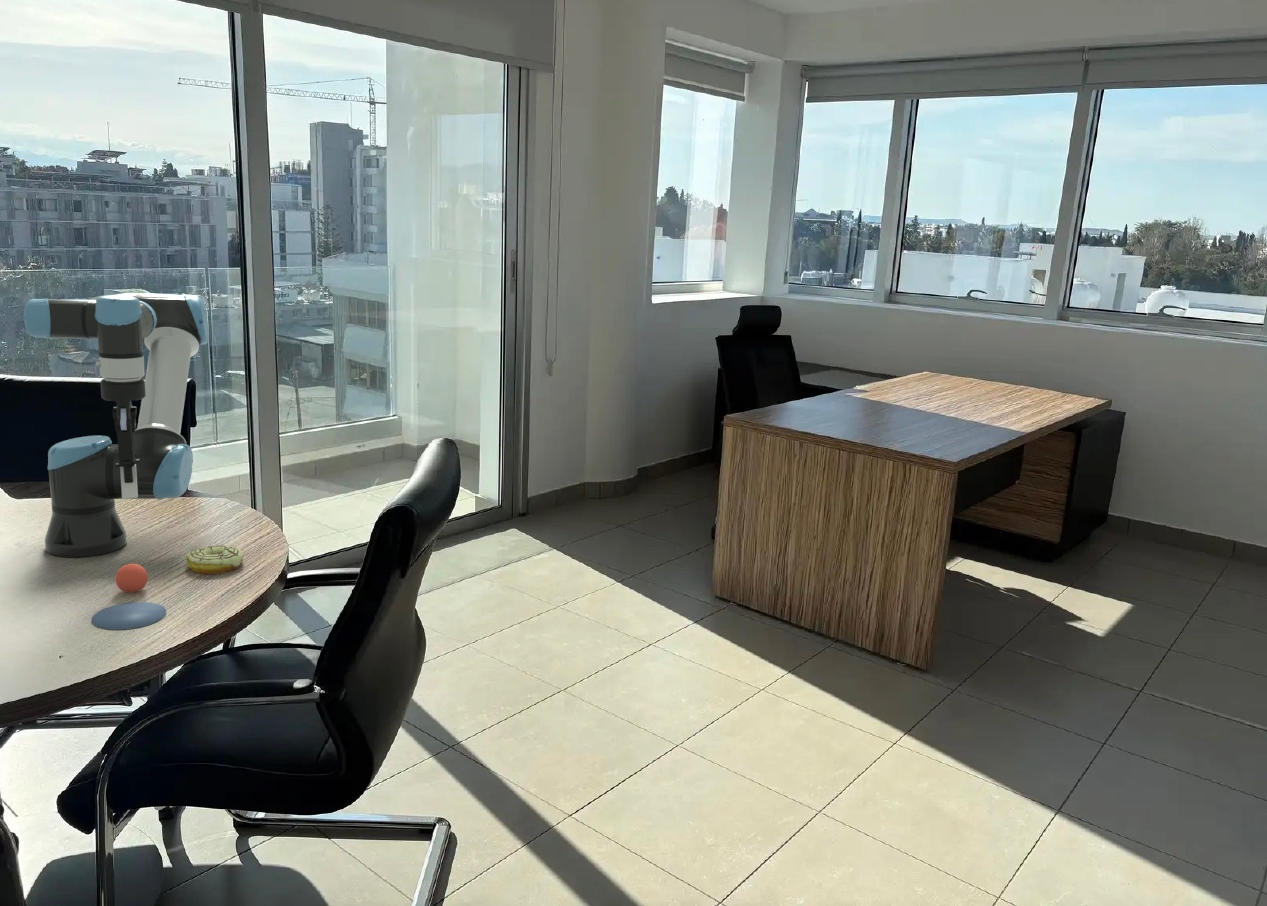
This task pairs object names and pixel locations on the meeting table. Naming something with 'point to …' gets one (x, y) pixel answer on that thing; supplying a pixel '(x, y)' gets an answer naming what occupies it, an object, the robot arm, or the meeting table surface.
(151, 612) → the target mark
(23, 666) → the meeting table surface
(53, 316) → the robot arm
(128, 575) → the ball
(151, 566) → the meeting table surface
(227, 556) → the decorated donut
